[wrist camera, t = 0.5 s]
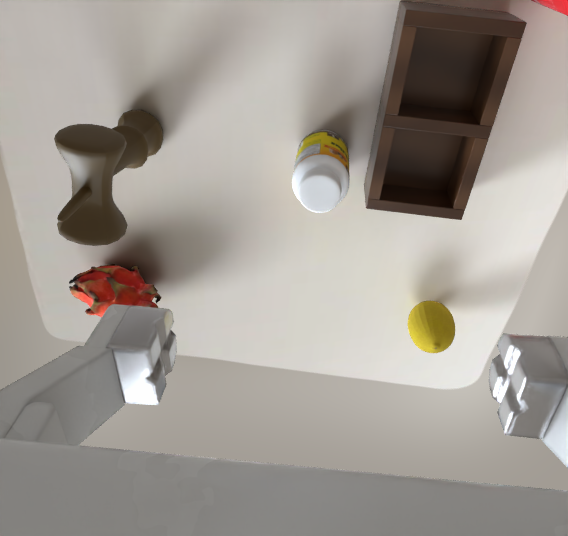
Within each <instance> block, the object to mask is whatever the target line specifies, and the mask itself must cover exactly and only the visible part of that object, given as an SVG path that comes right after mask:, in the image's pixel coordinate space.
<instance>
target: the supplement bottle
mask: <svg viewBox="0 0 568 536" xmlns="http://www.w3.org/2000/svg"><path fill="white" fill-rule="evenodd" d="M292 187H293V191H294V193H295V195H296V197H297V198H298V199H299V200H300V201H301V203H302V205H303V206H304V207H305V208H307V209H308V210H310V211H312V212H317V213H323V212H327V211H330V210H332V209H333V208H334V207H335V206H336V205H337V204H338V203H339V202H341V201H342V199H343V198H344V197H345V195H346V194H347V192H348V188H349V153H348V148H347V145H346V143H345V142H344V140H343V139H342V138H341V137H340V136H339V135H337V134H336V133H334V132H331V131H327V130H319V131H315V132H312V133H310V134H309V135H307V136H306V137H305V138H304V139H303V140H302V142H301V143H300V145H299V148H298V152H297V156H296V161H295V166H294V171H293V176H292Z"/></svg>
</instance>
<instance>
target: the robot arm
mask: <svg viewBox="0 0 568 536" xmlns="http://www.w3.org/2000/svg"><path fill="white" fill-rule="evenodd" d="M173 322H174V320H173V314H172V311H171V310H170V309H164V308H154V307H143V306H133V305H132V306H130V305H119V304H112V305H110V306H109V307H108V308H107V310H106V311H105V313H104V315H103V316H102V318H101V319H100V321H99V323H98V324H97V326H96V327H95V329H94V331H93V332H92V334H91V335H90V337H89V339H88V340H87V342H86V343H85V345H84V346H77V347H75V348H73V349H72V350H70V351H68V352H66V353H65V354H63V355H61V356H59V357H58V358H56V359H54V360H52V361H51V362H49V363H47V364H45V365H44V366H42V367H40V368H38V369H37V370H35V371H33V372H31V373H29V374H28V375H26V376H24V377H23V378H21V379H19V380H17V381H15V382H14V383H12V384H10V385H8V386H7V387H5V388H3V389H1V390H0V536H568V491H563V490H552V489H542V488H531V487H519V486H509V485H508V486H507V485H498V484H487V483H477V482H466V481H456V480H444V479H434V478H424V477H413V476H402V475H392V474H382V473H371V472H360V471H349V470H338V469H326V468H316V467H305V466H294V465H284V464H273V463H262V462H252V461H241V460H229V459H219V458H208V457H197V456H186V455H176V454H165V453H155V452H144V451H133V450H122V449H111V448H101V447H90V446H79V444H80V443H81V442H83V441H84V440H85V439H86V438H87V437H88V436H89V435H90V434H92V433H93V432H94V431H95V430H96V429H97V428H99V427H100V426H101V425H102V424H103V423H104V422H105V421H107V420H108V419H109V418H110V417H111V416H112V415H114V414H115V413H116V412H117V411H118V410H119V409H120V408H122V407H123V406H124V403H133V404H149V405H158V404H159V402H160V399H161V397H162V394H163V392H164V389H165V387H166V380H165V376H166V375H167V374H168V373H169V372H171V371H172V368H173V366H174V363H175V357H176V352H177V342H176V335H175V334H174V333H173V332H172V331H171V327H172V325H173ZM497 346H498V349H499V352H500V354H499V355H498V356H497V357H495V358H494V359H493V360H492V363H491V367H490V372H489V384H490V390H491V393H492V396H493V398H494V399H495V400H496V401H497V402H498V403H500V407H499V409H498V415H499V418H500V421H501V424H502V427H503V430H504V433H505V435H510V436H519V437H528V438H537V439H543V440H542V441H543V442H544V443H545V444H546V445H547V447H549V449H551V451H552V452H553V453H554V454H555V455H556V456H557V457H558V458H559V459H560V460H561V461H562V462H563V463H564V464H565V465H566V466H567V467H568V337H559V336H533V335H518V334H503V335H502V336H501V337H500V340H499V342H498V345H497Z"/></svg>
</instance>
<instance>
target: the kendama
mask: <svg viewBox="0 0 568 536" xmlns="http://www.w3.org/2000/svg"><path fill="white" fill-rule="evenodd" d="M54 140H55V143H56V146H57V149H58V150H59V152H60V154H61V155H62V157H63V158H64V160H65V161H66V163H67V164H68V166H69V168H70V171H71V177H72V198H71V200H70V201H69V202H68V203H67V205H66V206H65V207H64V208H63V209H62V211H61V212H60V213H59V215H58V218H57V219H58V224H57V226H58V231H59V234H60V235H61V236H63V237H64V238H65V239H67V240H69V241H72V242H75V243H78V244H83V245H92V246H97V245H108V244H110V243H113V242H115V241H118V240H119V239H120V238H121V237H122V236H123V235H124V234H125V232H126V229H127V222H126V220H125V218H124V216H123V214H122V213H121V212H120V210H119V209H118V208H117V206H116V205H115V203H114V201H113V198H112V178H113V176H114V175H115V174H117V173H118V172H120V171H121V170H123V169H124V168H138V167H140V166H142V165H143V164H144V163H145V161H146V160H147V157H148V156H151V155H154V154H156V153H157V152H158V150H159V149H160V148H161V145H162V141H163V132H162V128H161V126H160V123H159V121H158V120H157V119H156V118H155V117H153V116H152V115H151V114H149V113H147V112H144V111H142V110H131V111H128V112H125V113H123V115H122V116H121V118H120V119H119V121H118V126H117V127H114V128H112V129H110V128H107V127H104V126H99V125H93V124H77V125H71V126H68V127H66V128H64V129H61V130H59V131H58V133H57V134H56V135H55V138H54Z"/></svg>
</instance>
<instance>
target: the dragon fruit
mask: <svg viewBox="0 0 568 536" xmlns="http://www.w3.org/2000/svg"><path fill="white" fill-rule="evenodd" d="M138 269H139V268H138V267H137V266H133V267H132V268H131V270H132V271H129V270H127V269H125V268H122V267H120V266H118V265H117V266H115V264H111V265H105V266H100V267H97V268H96V267H91V269H90V270H88V271H86V272H83V273H80V274H78V275H76V276H75V277H74V278H73V280H70V282H69V284H70V283H73V282H74V283H75V285H73V287H71V286H69V288H70V291H71V294H72V295H73V296H74V297H76V298H78V299H80V300H81V301H83V302H85V303H87V304H88V305H89V306H90V308H91V309H90V308H89V309H87V310H86V311H85V312H86V314H88V315H98V316H100V317H101V318H102V316H103V315H104V313H105V311H106V310H107V308H108V307H109V306H110V305H112V304H119V305H130V306H132V305H133V306H143V307H154V308H158V306H157V305H156V304H155V303H154V302H152V300H153V298H154V297H155V298H157V300H156V303H157V302H158V301H160V299H161V296H160V295H159V294H158V293H157V289H156V288H155V287H154V285H151V284H149V285H148V284H145V282H144V280H143V279H142V277H141V276H140V274H139V272H138Z"/></svg>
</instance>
